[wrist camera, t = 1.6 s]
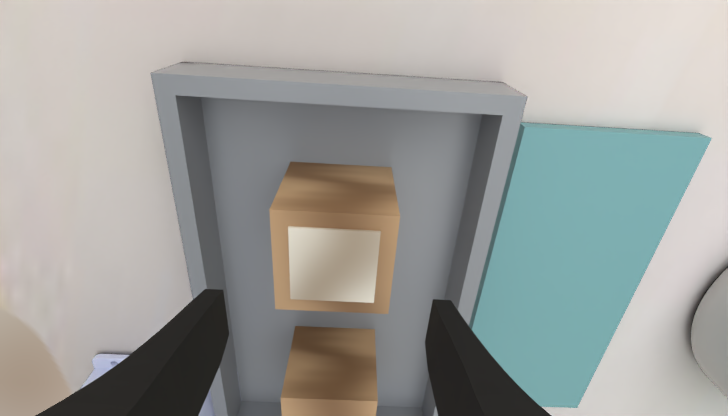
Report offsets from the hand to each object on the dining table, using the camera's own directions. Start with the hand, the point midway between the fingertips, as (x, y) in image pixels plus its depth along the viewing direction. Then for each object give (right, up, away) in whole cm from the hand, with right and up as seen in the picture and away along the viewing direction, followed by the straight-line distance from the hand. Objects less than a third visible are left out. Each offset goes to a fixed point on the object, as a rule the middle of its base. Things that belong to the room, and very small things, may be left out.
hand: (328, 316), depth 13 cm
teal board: (+13, -1, +10) cm, 16 cm away
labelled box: (0, +4, +7) cm, 8 cm away
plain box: (-1, -6, +12) cm, 14 cm away
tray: (0, 0, +10) cm, 10 cm away
